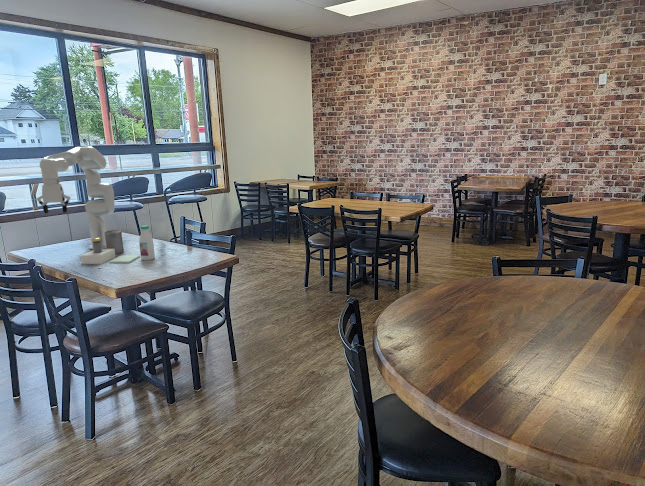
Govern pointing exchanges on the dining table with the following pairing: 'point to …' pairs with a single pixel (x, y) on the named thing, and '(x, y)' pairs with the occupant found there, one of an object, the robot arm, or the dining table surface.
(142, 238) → the milk bottle
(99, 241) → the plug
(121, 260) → the pad
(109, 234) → the grey bin
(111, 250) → the block
